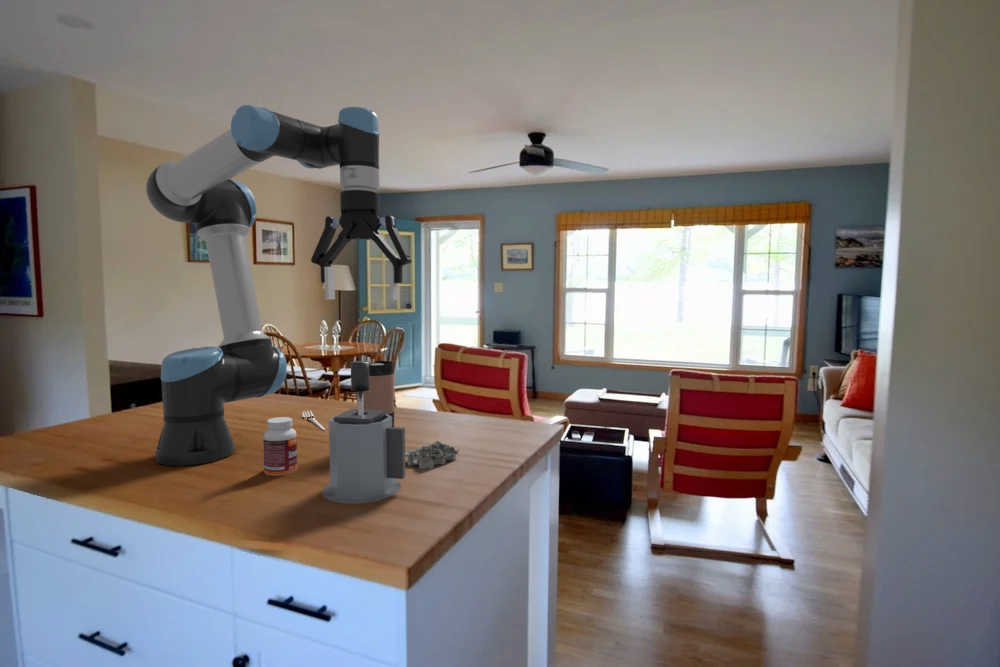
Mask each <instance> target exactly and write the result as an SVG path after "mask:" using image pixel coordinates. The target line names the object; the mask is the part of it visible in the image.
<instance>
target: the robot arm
mask: <svg viewBox="0 0 1000 667" xmlns="http://www.w3.org/2000/svg"><path fill="white" fill-rule="evenodd" d="M337 122H338V123H335V124H334V125H328V126H320V125H317V124H313V123H310V122H307V121H305V120H302V119H297V118H294V117H292V116H287V115H285V114H282V113H278V112H277V111H276V112H275V111H273V110H270V109H268V108H266V107H260V106H255V105H251V104H243V105H241V106H238V108H236V110H235V114H233V115H232V119H231V122H230V129H228V130H227V131H225V132H223V133H222V134H220V135H219V136H216V137H215V138H213V139H212V140H209V142H207V143H205V144H203V145H202V146H201V147H198V148H197V149H194V150H193V151H192V152H190V153H188V154H187V155H186V156H183V157H182V158H181V159H179V160H176V161H175V160H170V161H166V162H163V163H162V164H161V165H159V166H157V167H156V168H154V169H153V170H152V172H150V173H149V176H148V177H147V180H146V184H145V185H146V188H145V190H146V195H147V198H148V200H149V202H150V204H151V206H152V208H154V209H155V210H156V211H157V212H158V213H159V214H160V215H162V216H163V217H165V218H166V219H169V220H171V221H173V222H177V223H183V224H190V225H191V224H193V225H194V226H195V230H196V234H197V236H198V237H199V238H201V239H202V240H204V241H205V245H206V249H207V250H206V251H207V255H208V260H209V265H210V266H209V267H210V271H211V277H212V281H213V288H214V293H215V298H216V303H217V308H218V313H219V320H220V326H221V330H222V335H223V340H222V341H221V342H220V344H219V345H218V346H201V347H192V348H187V349H183V350H179V351H174V352H172V353H170V354H168V355H166V356H164V358H163V359H162V361H161V366H160V367H161V370H160V380H161V394H162V396H161V397H162V412H163V426H162V429H161V432H160V435H159V439H158V442H157V446H156V448H155V461H156V463H158V464H160V465H163V466H164V465H165V466H172V467H174V466H176V467H177V466H179V467H181V466H191V465H201V464H207V463H211V462H215V461H218V460H222V459H224V457H225V458H226V457H228V456H231V455H232V454H234V452H235V440H234V438H233V437H232V434H231V431H230V429H229V425H228V424H227V421H226V418H225V403H232V402H237V401H242V400H248V399H249V400H250V399H253V398H261V397H262V398H263V397H264V396H267V395H271V394H274V393H276V392H278V390H280V389H281V388H282V386H283V384H284V382H285V380H286V376H287V372H288V369H287V366H288V365H287V358H286V356H285V353H284V352H282V350H281V349H280V348H279V347H276V346H273V342H272V339H271V337H270V336H269V335H267V334H266V333H265V332H263V328H262V322H261V317H260V311H259V307H258V306H259V305H258V300H257V296H256V290H255V284H254V279H253V275H252V269H251V263H250V258H249V253H248V249H247V248H248V247H247V244H246V237H247V235H249V234H250V232H251V227H252V226H253V225H254V224H255V221H256V216H255V215H256V214H257V210H258V209H257V202H256V199H255V197H254V194H253V193H252V191H251V190H250V188H249V187H247V185H245V184H244V183H242V182H240V181H237V180H233V179H234V178H235V177H236V176H238V175H241V174H242V173H244V172H246V171H248V170H249V169H251V168H253V167H255V166H257V165H258V164H260V163H263V162H264V161H266V160H268V159H271V158H272V157H281V158H285V159H288V160H289V159H290V160H294V161H297V162H298V163H300V165H301V166H303V167H305V168H307V169H324V168H325V169H326V168H328V167H334V166H339V188H340V189H341V190H342V191H341V192H340V193H339V195H340V196H339V197H340V198H339V202H340V206H339V207H340V218H338V217H333V216H326V217H325V220H324V222H325V223H324V229H323V231H322V233H321V236H320V237H319V240H318V243H317V245H316V248H315V250H313V254H312V256H311V259H310V262H311V263H312V264H315V265H318V266H320V267H319V268H320V281H321V283H324V300H328V301H329V300H336V281H335V279H336V278H335V276H336V275H335V274H336V272H335V267H334V266H332V264H333V263H334V261H335V260H336V259H337V258H338V256H339V255H340V253H342V251H343V250H344V248H345V247H346V246H347V245H348V243H350V242H351V241H352V240H354V241H360V240H366V241H370V240H372V241H373V242H374V243H375V245H377V247H378V248H379V249H380V251H381V252H382V254H384V256H385V257H386V258H387V259H388V261H389V262H390V263H391V264H392V266H389V267H388V277H389V278H388V280H389V281H388V282H389V284H388V286H389V301H399V284H402V282H403V267H404V266H406V265H409V264H411V263H412V258H411V256H410V252H408V251H409V250H408V249H407V248H406V245H405V243H404V241H403V238H402V237H401V235H400V232H399V231H398V227H397V222H396V217H394V216H391V215H389V214H388V215H386V216H384V217H381V215H380V212H381V206H380V205H381V202H380V200H381V199H380V194H379V193H378V192H379V191H380V190H381V187H380V184H381V183H380V162H379V161H380V135H381V134H380V127H379V118H378V115H377V114H376V112H375V111H373V110H371V109H369V108H365V107H360V106H347V107H343V108H341V109H340V111H339V113H338V118H337ZM232 178H233V179H232ZM382 225H383V227H384V228H385V229H386V230H387V233H388V236H389V237H390V240H391V242H392V244H393V245H394V247H395V250H396V252H397V253H396V252H395V251H394V250H393V248H391V246H390V245H389V243H388V242H387V241H386V240H385V239H384V237H383V235H382V234H381V233H380V231H379V229H380V227H381V226H382ZM339 226H340V227H341V229H342V230H341V231H340V233H339V234H338V235H337V238H336V239H335V241H334V242H333V244H332V245H331V243H332V241H333V238H334V236H335V234H336V231H337V229H338V228H339ZM330 245H331V246H330ZM329 247H330V248H329ZM397 254H398V255H397Z"/></svg>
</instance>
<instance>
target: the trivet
mask: <svg viewBox="0 0 1000 667" xmlns="http://www.w3.org/2000/svg"><path fill="white" fill-rule="evenodd" d="M401 487H402V484H401V482H400V481H399V479H398V480H397V479H396V478H393V486H392V487H391V488H390V489H389V490H388V491H387V492H386V493H385V494H384V495H380V496H375V497H371V498H366V499H362V500H358V499H346V498H338V497H337V496H336V495H335V494H334V493H333V492H332V491H331V490H330V482H329V483H328V484H326V485H325V486H324V487H323V488H322V490H321V496H322V497H323V498H324V499H326V500H328V501H330V502H334V503H340V504H347V505H348V504H352V505H353V504H355V505H356V504H366V503H373V502H378V501H381V500H384V499H385V500H386V499H388V498H390V497H392V496H394V495H396V494H398V492H399V491H400V490H401Z"/></svg>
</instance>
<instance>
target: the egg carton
mask: <svg viewBox="0 0 1000 667" xmlns="http://www.w3.org/2000/svg"><path fill="white" fill-rule="evenodd" d="M459 452H460V449H457V450H456V449H455V447H454V446H450V445H448V444H446V443H444V444H443V443H442V442H441V441H439V440H436V441H435V442H434V443H432V444H427V446H426V445H423V446H421V447H419V448H416V449H408V450H406V451H405V458H407V465H408V466H418V468H419V469H422V470H423V469H435V466H436V465H445V464H446V461H454V460H456V458H457V456H458V455H459ZM434 465H435V466H434Z"/></svg>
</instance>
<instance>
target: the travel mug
mask: <svg viewBox="0 0 1000 667" xmlns="http://www.w3.org/2000/svg"><path fill="white" fill-rule="evenodd" d="M394 371H395V370H394V362H393V361H389V360H377V361H375V362H373V363H369V386H370V390H368V391H363V406H364V409H369V410H386V414H388V415H390V416H392V427H395V379H394V378H395V377H394V375H395V374H394V373H395V372H394Z"/></svg>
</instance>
